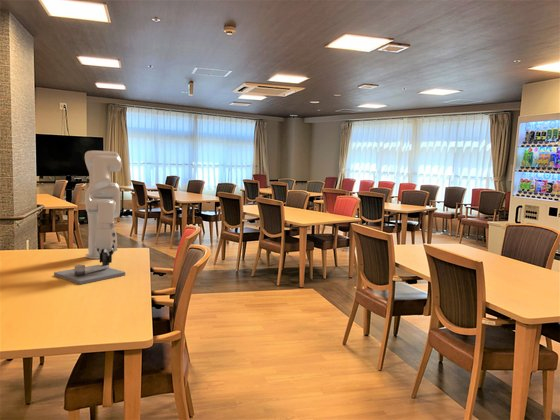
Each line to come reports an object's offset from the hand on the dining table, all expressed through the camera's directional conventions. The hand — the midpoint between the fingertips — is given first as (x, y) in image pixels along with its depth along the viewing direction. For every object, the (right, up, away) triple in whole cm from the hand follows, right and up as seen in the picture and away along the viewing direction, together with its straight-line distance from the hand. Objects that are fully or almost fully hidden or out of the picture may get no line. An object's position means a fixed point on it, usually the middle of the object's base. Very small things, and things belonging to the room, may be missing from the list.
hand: (105, 262), depth 214 cm
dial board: (-4, -5, -8) cm, 10 cm away
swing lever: (-3, -3, -7) cm, 9 cm away
